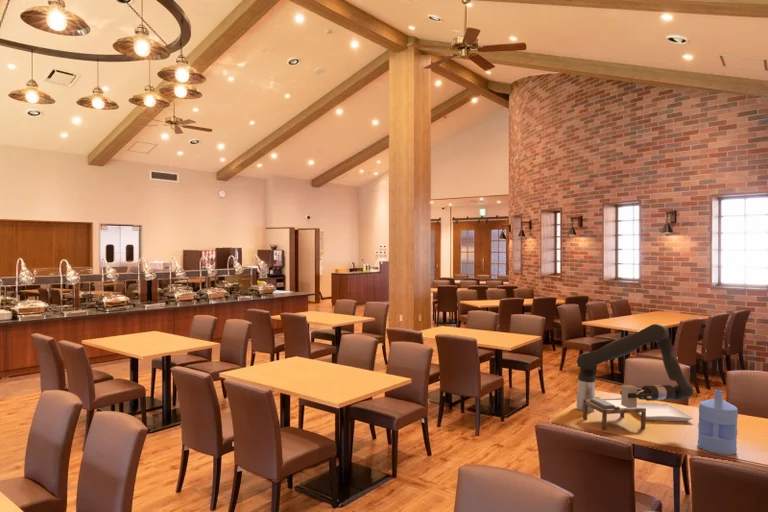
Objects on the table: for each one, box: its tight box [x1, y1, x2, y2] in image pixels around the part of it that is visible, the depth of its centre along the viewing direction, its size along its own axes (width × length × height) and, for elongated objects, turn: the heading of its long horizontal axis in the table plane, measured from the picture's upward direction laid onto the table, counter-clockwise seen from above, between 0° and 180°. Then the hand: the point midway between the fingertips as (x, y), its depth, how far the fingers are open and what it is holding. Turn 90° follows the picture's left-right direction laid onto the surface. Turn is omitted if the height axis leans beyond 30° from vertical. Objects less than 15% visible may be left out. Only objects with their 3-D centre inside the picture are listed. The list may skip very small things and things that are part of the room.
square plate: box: [636, 401, 694, 422], centre depth 299 cm, size 27×27×4 cm
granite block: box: [620, 384, 638, 408], centre depth 262 cm, size 5×5×10 cm
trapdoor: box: [591, 397, 639, 409], centre depth 282 cm, size 20×14×4 cm
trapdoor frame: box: [582, 396, 647, 431], centre depth 282 cm, size 24×19×12 cm
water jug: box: [697, 389, 739, 456], centre depth 248 cm, size 16×16×28 cm
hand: (624, 394), depth 262 cm, fingers closed on granite block, 5 cm apart
